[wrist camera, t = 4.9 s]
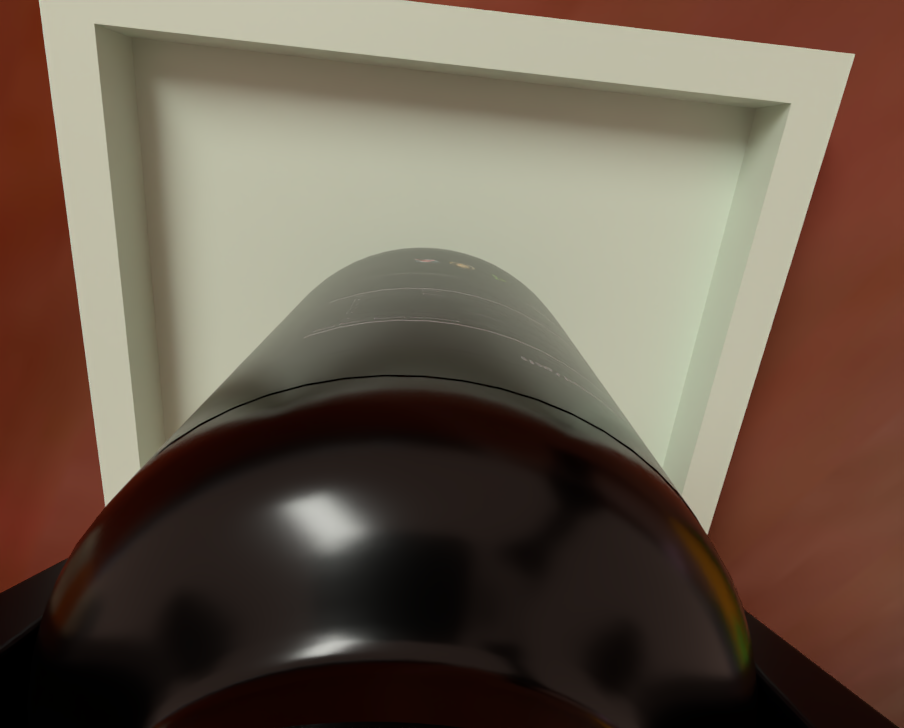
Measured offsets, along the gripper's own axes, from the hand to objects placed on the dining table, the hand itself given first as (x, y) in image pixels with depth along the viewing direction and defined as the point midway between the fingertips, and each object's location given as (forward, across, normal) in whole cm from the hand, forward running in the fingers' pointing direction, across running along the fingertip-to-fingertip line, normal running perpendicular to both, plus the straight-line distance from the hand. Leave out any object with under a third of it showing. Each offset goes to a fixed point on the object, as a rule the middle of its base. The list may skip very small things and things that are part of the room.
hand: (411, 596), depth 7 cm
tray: (+9, 0, 0) cm, 9 cm away
